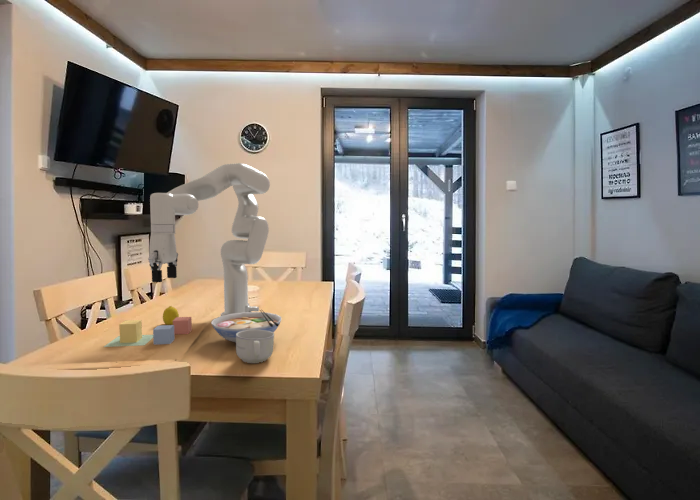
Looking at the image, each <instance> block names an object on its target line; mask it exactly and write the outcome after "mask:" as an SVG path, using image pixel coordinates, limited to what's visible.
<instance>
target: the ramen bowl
mask: <svg viewBox="0 0 700 500" xmlns="http://www.w3.org/2000/svg"><path fill="white" fill-rule="evenodd" d="M281 322H282V316H280V315H278V314H276V313H271V312H265V311H264V310H263V309H260V308H259V311H251V312H242V313H234V314H228V315H224V316H221V315H220V316H218V317H215V318H213V319H212V320H211V322H210V323H211V326H212V328H213V329H214V330H215V331H216V333H217V334H218V335H220V336H221V337H222V338H223V339H225V340H226V341H230V342H233V343H236V333H238V332H240V331H245V330H267V331H271V332H273V333H274V334H275V331H276V330H277V329H278V327H279V326H280V324H281Z"/></svg>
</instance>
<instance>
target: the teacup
mask: <svg viewBox="0 0 700 500" xmlns="http://www.w3.org/2000/svg"><path fill="white" fill-rule="evenodd" d="M274 339H275V332H274V333H273V332H271V331H267V330H245V331H240V332H238V333H236V342H235V352H236V355H237V358H239V359H240V360H241V361H242V362H244V363H246V362H247V364H260V363H259V362H261V363H263V361H264V362H266V361H267V360H268V359H270V357H271V356H272V355H273V352H274V342H275V341H274Z"/></svg>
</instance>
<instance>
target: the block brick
mask: <svg viewBox="0 0 700 500" xmlns="http://www.w3.org/2000/svg"><path fill="white" fill-rule="evenodd" d="M173 325H174V335H189V334H190V333H191V332H192V330H193V329H192V328H193V326H192V325H193V324H192V316H179V317H176V318H175V319H174V320H173Z"/></svg>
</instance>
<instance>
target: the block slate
mask: <svg viewBox="0 0 700 500" xmlns="http://www.w3.org/2000/svg"><path fill="white" fill-rule="evenodd" d="M152 335H153V338H152V339H153V340H152V341H153V345H171V344H172V343H173V342H174V341H175V334H174V325H166V324H165V325H157V326H156V327H155V328H153V329H152Z"/></svg>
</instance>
